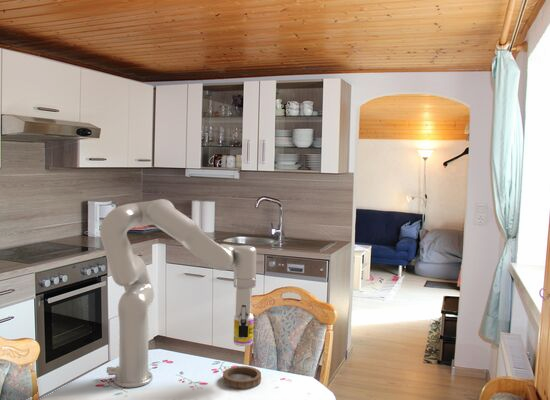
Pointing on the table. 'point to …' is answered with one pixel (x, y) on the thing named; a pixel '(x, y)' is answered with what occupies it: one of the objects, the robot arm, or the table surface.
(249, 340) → the supplement bottle
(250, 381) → the ring holder
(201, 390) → the table surface
